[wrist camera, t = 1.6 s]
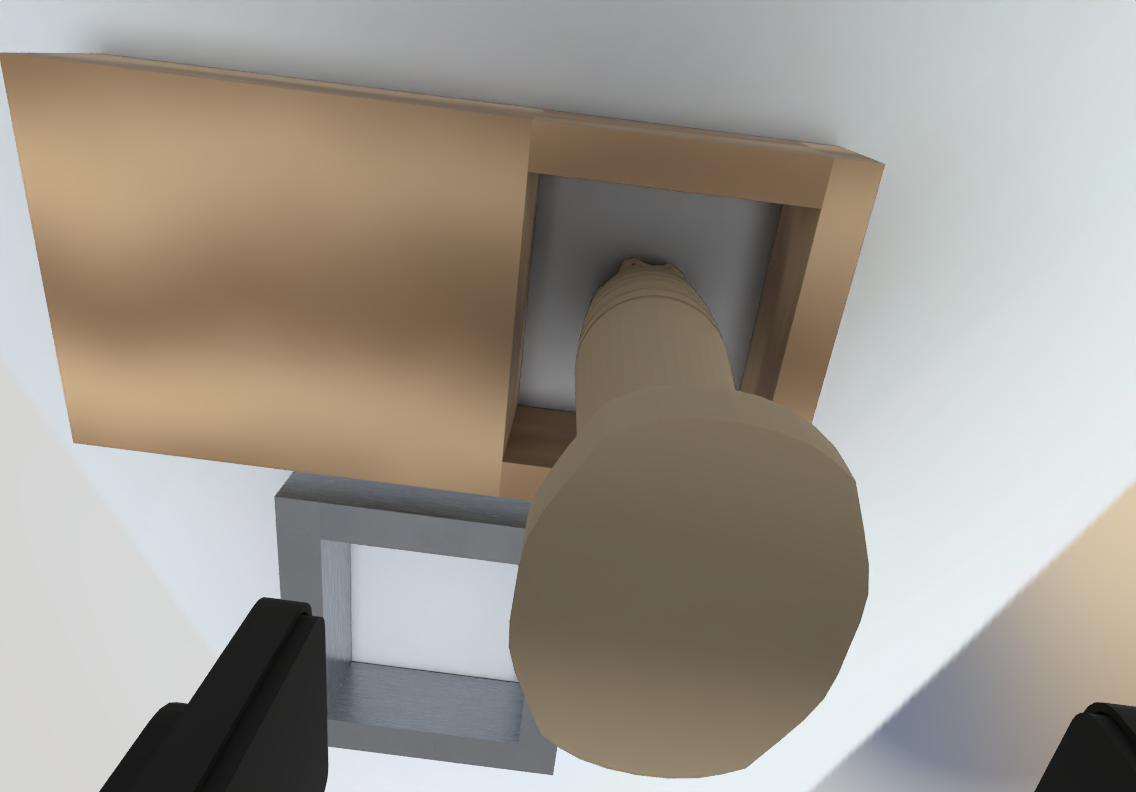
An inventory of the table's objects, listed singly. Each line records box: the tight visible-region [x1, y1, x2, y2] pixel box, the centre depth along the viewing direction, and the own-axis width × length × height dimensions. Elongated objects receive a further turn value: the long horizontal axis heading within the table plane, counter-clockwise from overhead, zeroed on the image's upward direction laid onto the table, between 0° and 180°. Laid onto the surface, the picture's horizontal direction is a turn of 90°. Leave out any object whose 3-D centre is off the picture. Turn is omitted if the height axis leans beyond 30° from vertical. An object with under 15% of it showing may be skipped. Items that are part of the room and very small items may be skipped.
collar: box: [275, 471, 557, 775], centre depth 28 cm, size 12×10×3 cm
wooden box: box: [0, 53, 885, 501], centre depth 22 cm, size 11×22×4 cm, turn 83°
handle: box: [509, 258, 869, 778], centre depth 17 cm, size 5×6×15 cm
